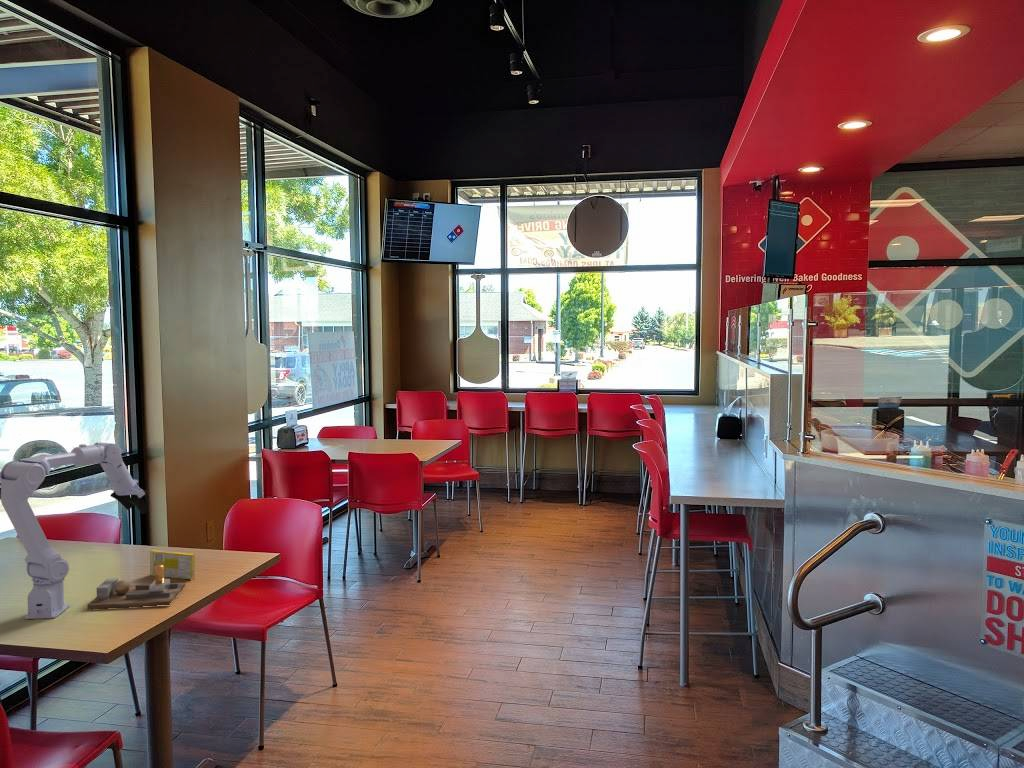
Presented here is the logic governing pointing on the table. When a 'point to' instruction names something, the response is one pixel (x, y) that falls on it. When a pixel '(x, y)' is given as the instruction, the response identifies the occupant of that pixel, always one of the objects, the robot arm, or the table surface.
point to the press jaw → (159, 581)
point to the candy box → (173, 564)
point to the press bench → (132, 596)
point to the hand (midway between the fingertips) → (138, 510)
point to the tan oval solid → (122, 587)
